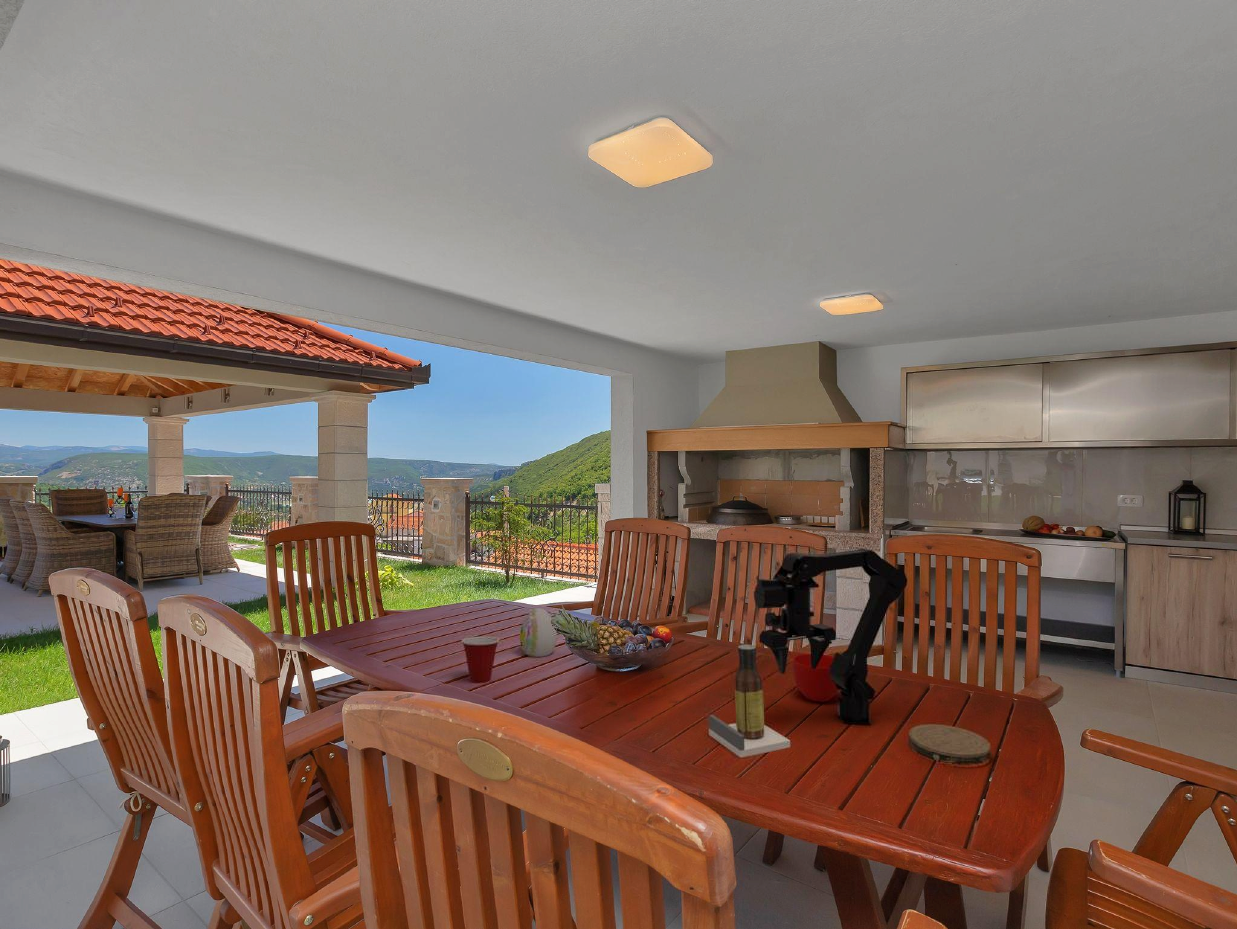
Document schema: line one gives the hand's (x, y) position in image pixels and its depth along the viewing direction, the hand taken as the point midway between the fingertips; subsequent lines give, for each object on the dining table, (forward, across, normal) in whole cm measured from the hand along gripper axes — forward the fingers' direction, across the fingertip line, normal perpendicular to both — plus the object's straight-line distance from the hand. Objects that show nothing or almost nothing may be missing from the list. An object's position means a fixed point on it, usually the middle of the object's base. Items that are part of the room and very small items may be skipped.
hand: (798, 671), depth 157 cm
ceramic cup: (+13, -18, -12) cm, 26 cm away
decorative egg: (+13, +40, -82) cm, 93 cm away
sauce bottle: (+12, +16, +3) cm, 20 cm away
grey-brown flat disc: (+14, -21, +24) cm, 35 cm away
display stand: (+13, +16, +3) cm, 21 cm away
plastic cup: (+13, +63, -64) cm, 91 cm away
